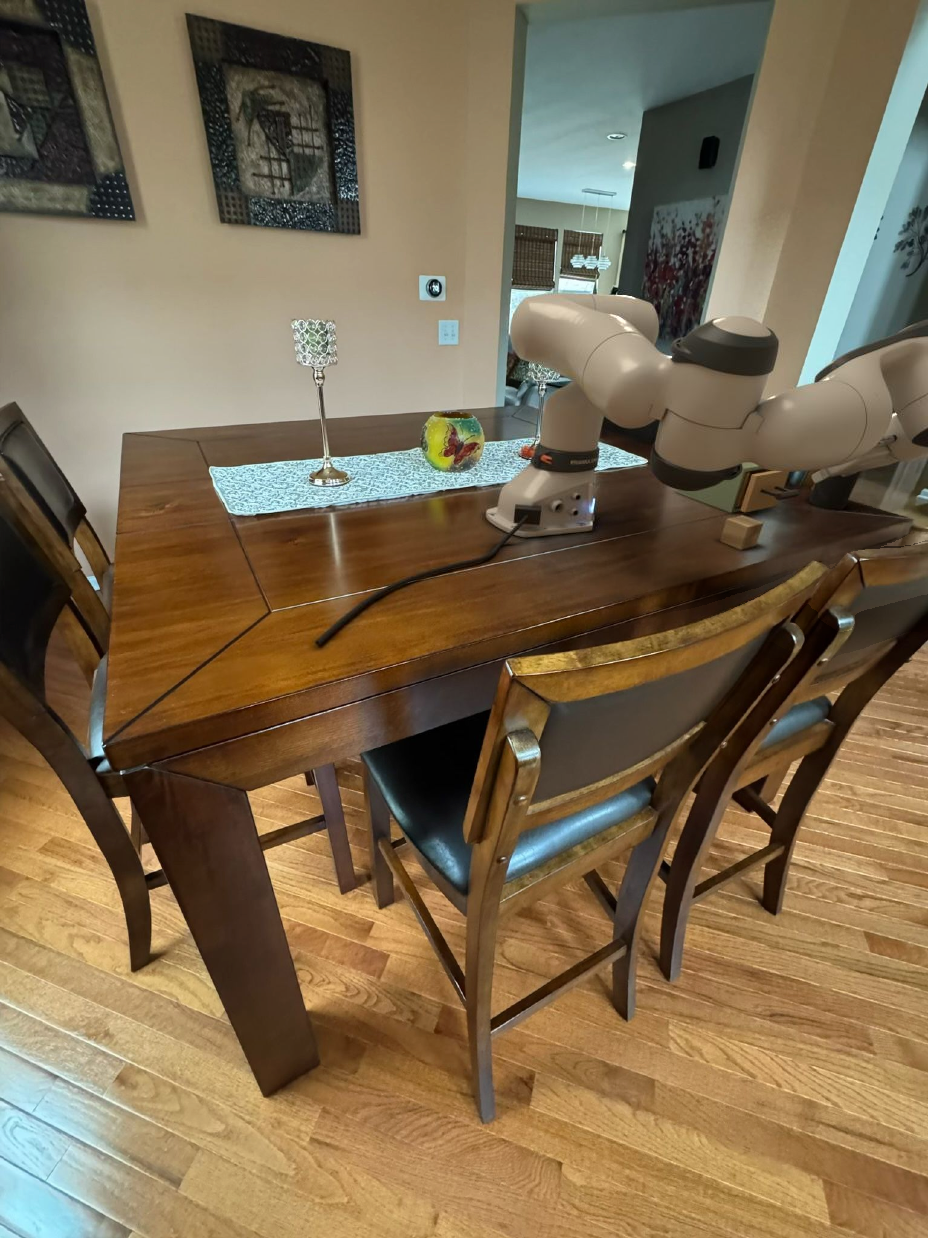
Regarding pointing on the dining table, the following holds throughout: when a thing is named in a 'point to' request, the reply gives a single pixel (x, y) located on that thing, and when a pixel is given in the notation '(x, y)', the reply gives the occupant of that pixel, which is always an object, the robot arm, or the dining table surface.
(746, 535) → the block
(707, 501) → the cabinet
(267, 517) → the dining table surface
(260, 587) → the dining table surface
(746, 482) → the drawer
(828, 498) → the travel mug
